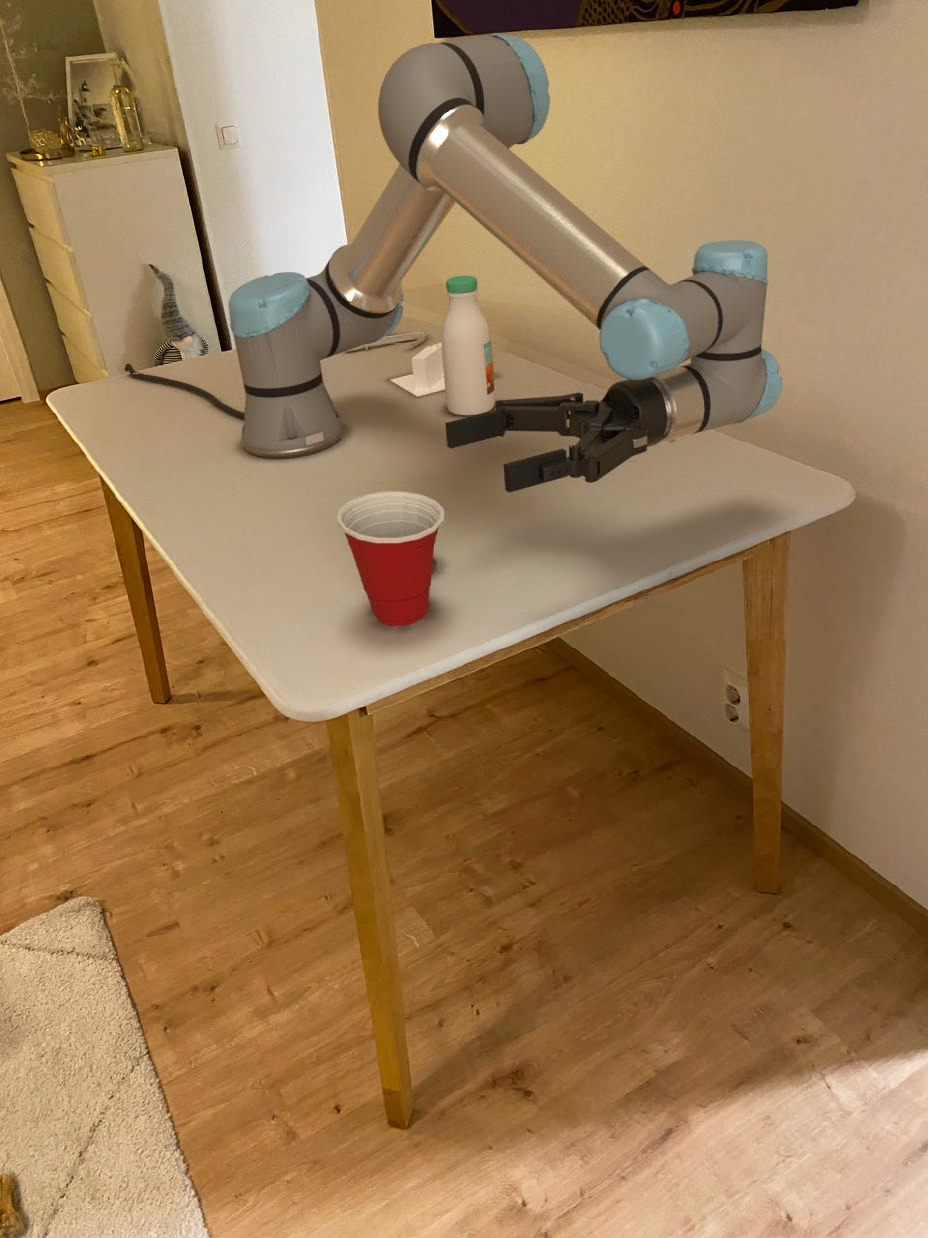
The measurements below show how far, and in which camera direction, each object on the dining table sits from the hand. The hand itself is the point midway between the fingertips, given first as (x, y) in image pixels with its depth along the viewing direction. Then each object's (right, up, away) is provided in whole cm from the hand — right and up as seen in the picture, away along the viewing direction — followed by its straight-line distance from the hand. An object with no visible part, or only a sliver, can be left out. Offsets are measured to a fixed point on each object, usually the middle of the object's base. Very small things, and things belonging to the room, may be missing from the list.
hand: (474, 456), depth 99 cm
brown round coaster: (-7, -11, +13) cm, 18 cm away
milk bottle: (0, +17, +56) cm, 59 cm away
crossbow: (-16, +36, +89) cm, 97 cm away
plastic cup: (-8, -16, +5) cm, 18 cm away
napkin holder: (-5, +25, +70) cm, 74 cm away
